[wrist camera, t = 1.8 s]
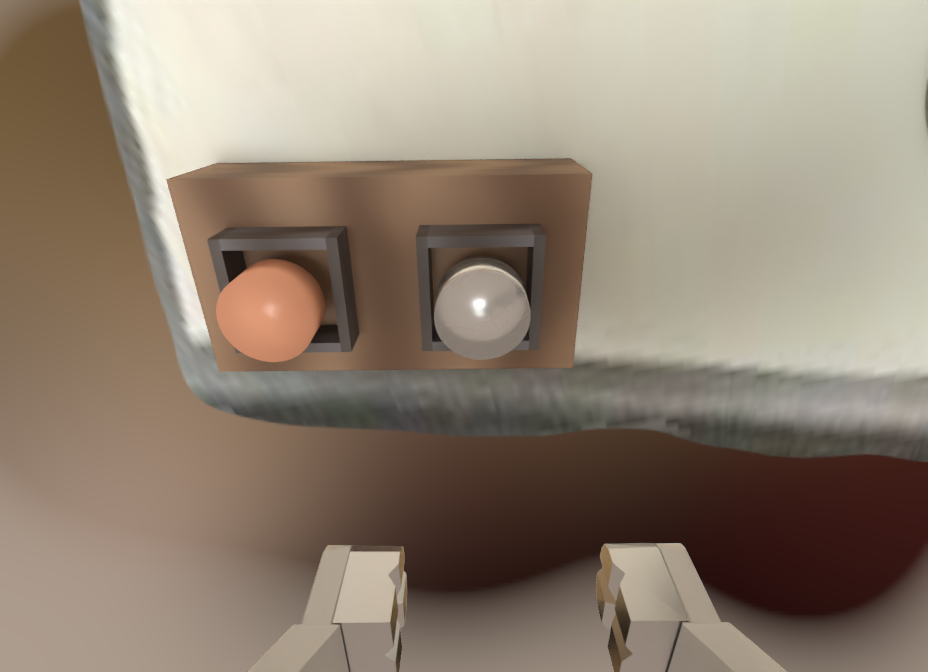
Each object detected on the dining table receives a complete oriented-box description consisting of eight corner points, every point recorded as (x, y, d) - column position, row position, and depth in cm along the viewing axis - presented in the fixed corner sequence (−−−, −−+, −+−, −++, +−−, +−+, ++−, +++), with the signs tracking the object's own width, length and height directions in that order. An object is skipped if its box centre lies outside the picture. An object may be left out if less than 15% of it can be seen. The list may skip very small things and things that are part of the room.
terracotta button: (318, 258, 21) (306, 274, 20) (331, 340, 23) (320, 361, 22) (226, 259, 22) (205, 275, 20) (246, 341, 23) (228, 362, 22)
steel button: (527, 255, 21) (533, 271, 20) (523, 338, 23) (528, 359, 21) (434, 256, 21) (431, 272, 20) (437, 339, 23) (435, 360, 21)
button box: (570, 158, 27) (603, 181, 20) (557, 326, 31) (580, 388, 25) (216, 163, 27) (140, 187, 20) (254, 330, 31) (201, 392, 25)
